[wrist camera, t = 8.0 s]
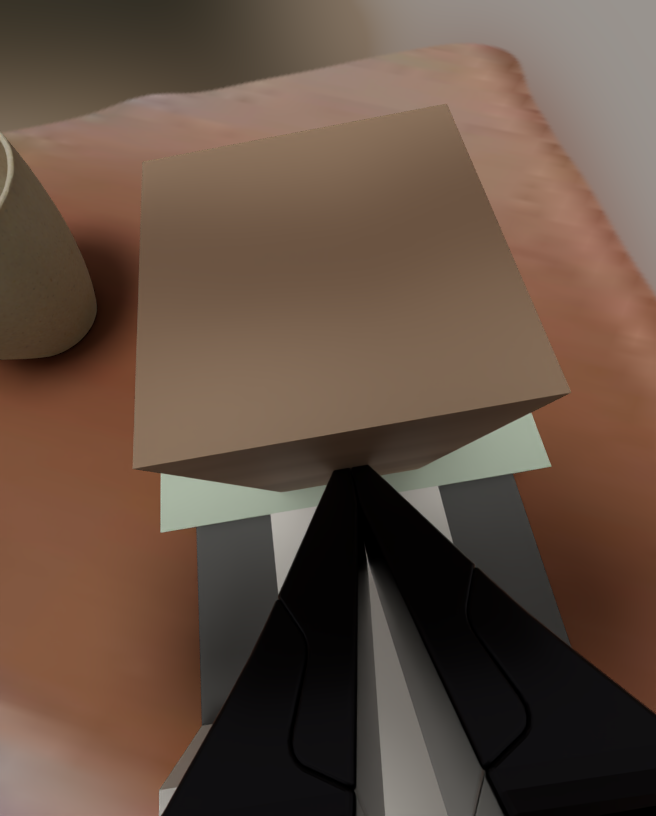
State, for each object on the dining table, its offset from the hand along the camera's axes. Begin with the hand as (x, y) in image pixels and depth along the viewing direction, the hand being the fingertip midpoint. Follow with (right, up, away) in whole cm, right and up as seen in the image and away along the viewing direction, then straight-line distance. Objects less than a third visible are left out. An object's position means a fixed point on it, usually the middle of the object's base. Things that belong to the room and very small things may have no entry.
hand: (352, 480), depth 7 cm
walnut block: (0, +1, +4) cm, 5 cm away
